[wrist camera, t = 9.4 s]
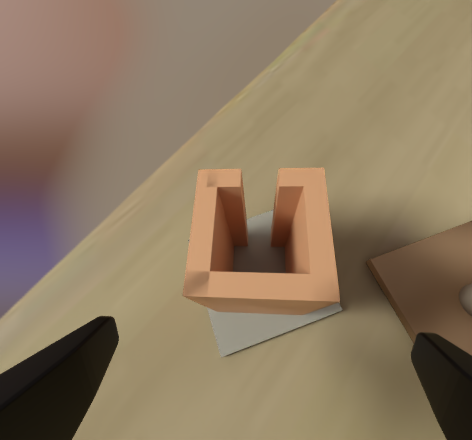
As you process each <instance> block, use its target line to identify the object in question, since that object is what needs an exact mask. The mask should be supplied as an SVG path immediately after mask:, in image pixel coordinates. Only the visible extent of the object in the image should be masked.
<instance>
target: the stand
mask: <svg viewBox="0 0 472 440" xmlns="http://www.w3.org/2000/svg"><path fill="white" fill-rule="evenodd" d="M366 263H367V265H368V267H369V268H370V270H371V272H372V273H373V275H374V277H375V278H376V280H377V282H378V283H379V285H380V287H381V289H382V290H383V292H384V294H385V295H386V297H387V299H388V300H389V302H390V304H391V305H392V307H393V309H394V311H395V312H396V314H397V316H398V317H399V319H400V321H401V322H402V324H403V326H404V327H405V329H406V331H407V333H408V334H409V336H410V338H411V339H412V341H413V343H414V342H415V338H416V335H417V334H418V333H419V332H432V333H436V334H438V335H440V336H442V337H443V338H445V339H446V340H448V341H450V342H451V343H453V344H454V345H456V346H458V347H459V348H461V349H462V350H464V351H466V352H467V353H469V354H470V355H472V221H470V222H468V223H465V224H462V225H460V226H457V227H454V228H452V229H449V230H446V231H444V232H441V233H438V234H436V235H433V236H430V237H428V238H425V239H422V240H420V241H417V242H415V243H412V244H409V245H407V246H404V247H401V248H399V249H396V250H393V251H391V252H388V253H385V254H383V255H380V256H377V257H375V258H372V259H370V260H368V261H367V262H366Z"/></svg>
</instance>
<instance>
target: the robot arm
mask: <svg viewBox="0 0 472 440" xmlns="http://www.w3.org/2000/svg"><path fill="white" fill-rule="evenodd" d="M118 341H119V335H118V331H117V327H116V323H115V319H114V318H113V317H111V316H99V317H97V318H95V319H94V320H92V321H90V322H89V323H87V324H85V325H83V326H82V327H80V328H78V329H77V330H75V331H73V332H72V333H70V334H68V335H66V336H65V337H63V338H61V339H60V340H58V341H56V342H54V343H53V344H51V345H49V346H48V347H46V348H44V349H43V350H41V351H39V352H37V353H36V354H34V355H32V356H31V357H29V358H27V359H26V360H24V361H22V362H20V363H19V364H17V365H15V366H14V367H12V368H10V369H8V370H7V371H5V372H3V373H2V374H0V440H72V438H73V437H74V435H75V433H76V431H77V429H78V427H79V425H80V424H81V422H82V420H83V418H84V416H85V414H86V412H87V411H88V409H89V407H90V405H91V403H92V401H93V399H94V397H95V395H96V393H97V391H98V389H99V387H100V384H101V382H102V380H103V377H104V375H105V373H106V370H107V368H108V366H109V363H110V361H111V359H112V356H113V354H114V352H115V350H116V347H117V345H118ZM411 359H412V363H413V365H414V368H415V370H416V372H417V375H418V377H419V379H420V382H421V384H422V386H423V389H424V391H425V393H426V396H427V398H428V400H429V403H430V405H431V407H432V410H433V412H434V414H435V417H436V419H437V421H438V423H439V425H440V427H441V429H442V431H443V433H444V435H445V437H446V439H447V440H472V355H470V354H469V353H467V352H466V351H464V350H462V349H461V348H459V347H458V346H456V345H454V344H453V343H451V342H450V341H448V340H446V339H445V338H443V337H442V336H440V335H438V334H436V333H432V332H419V333H418V334H417V335H416V338H415V342H414V345H413V349H412V352H411Z"/></svg>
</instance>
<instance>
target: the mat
mask: <svg viewBox="0 0 472 440" xmlns="http://www.w3.org/2000/svg"><path fill="white" fill-rule="evenodd" d="M273 211H274V210H271V211H268V212H266V213H263V214H260V215H257V216H254V217H251V218H249V219H247V228H248V246H234V262H233V272H253V273H286V268H285V247H271V238H270V235H271V227H272V219H273ZM188 241H190V239H189V240H188ZM207 309H208V313H209V316H210V320H211V323H212V327H213V331H214V334H215V338H216V341H217V345H218V348H219V352H220V356H221V357H223V356H226V355H229V354H231V353H234V352H236V351H239V350H241V349H244V348H247V347H249V346H252V345H254V344H257V343H260V342H262V341H265V340H267V339H270V338H272V337H275V336H278V335H280V334H283V333H285V332H288V331H290V330H293V329H296V328H298V327H301V326H303V325H306V324H308V323H311V322H314V321H316V320H319V319H321V318H324V317H327V316H329V315H332V314H334V313H337V312H339V311H342V308H341V306H340V304H339V302H338V303H335V304H333V305H330V306H327V307H324V308H321V309H318V310H316V311H313V312H310V313H307V314H304V315H281V314H257V313H233V312H217V311H214V310H212V309H210V308H208V307H207Z"/></svg>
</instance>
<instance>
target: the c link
mask: <svg viewBox="0 0 472 440" xmlns="http://www.w3.org/2000/svg"><path fill="white" fill-rule="evenodd" d="M270 238H271V247H285V268H286V273H253V272H233V262H234V246H248V228H247V219H246V209H245V200H244V191H243V181H242V172H241V169H199V170H198V178H197V186H196V194H195V202H194V210H193V218H192V225H191V233H190V241H189V249H188V257H187V265H186V273H185V281H184V289H183V297H186V298H188V299H190V300H192V301H194V302H197V303H199V304H201V305H203V306H206V307H208V308H210V309H212V310H214V311H217V312H233V313H257V314H281V315H304V314H307V313H310V312H313V311H316V310H318V309H321V308H324V307H327V306H330V305H333V304H335V303H338V302H340V294H339V286H338V277H337V269H336V261H335V253H334V245H333V237H332V229H331V220H330V212H329V204H328V196H327V188H326V180H325V171H324V168H279V171H278V179H277V187H276V195H275V203H274V211H273V219H272V227H271V235H270Z"/></svg>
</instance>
